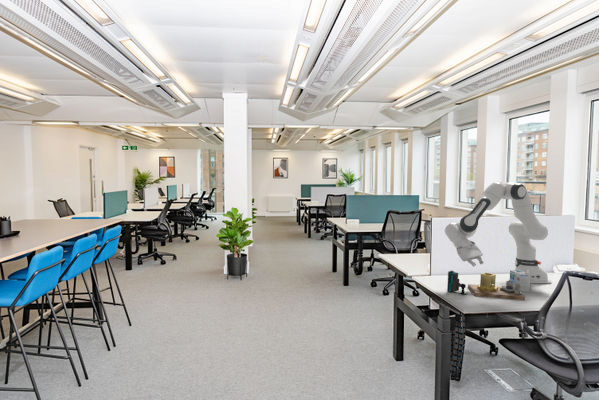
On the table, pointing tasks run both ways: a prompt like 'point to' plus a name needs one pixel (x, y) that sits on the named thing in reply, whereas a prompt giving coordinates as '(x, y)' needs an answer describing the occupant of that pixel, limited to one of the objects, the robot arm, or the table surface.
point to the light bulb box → (520, 279)
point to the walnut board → (498, 293)
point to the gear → (508, 287)
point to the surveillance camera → (454, 283)
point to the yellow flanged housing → (487, 282)
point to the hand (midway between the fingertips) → (478, 264)
